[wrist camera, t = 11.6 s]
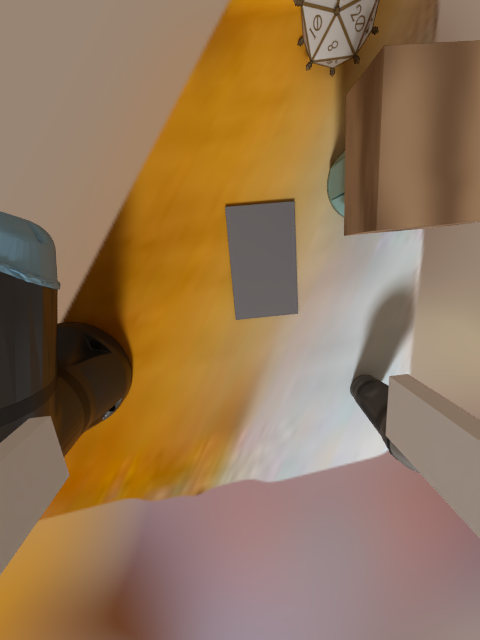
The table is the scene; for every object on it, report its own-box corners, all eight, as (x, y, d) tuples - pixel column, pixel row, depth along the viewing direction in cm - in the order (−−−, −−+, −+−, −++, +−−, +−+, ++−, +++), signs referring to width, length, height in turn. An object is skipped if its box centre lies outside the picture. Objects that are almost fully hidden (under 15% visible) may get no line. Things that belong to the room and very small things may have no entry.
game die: (326, 65, 33) (415, 16, 26) (296, 110, 31) (383, 71, 24) (298, -32, 27) (403, -132, 20) (259, 17, 25) (359, -72, 18)
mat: (235, 319, 36) (236, 319, 36) (225, 207, 33) (225, 206, 32) (297, 312, 37) (297, 313, 36) (293, 201, 33) (294, 201, 33)
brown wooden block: (344, 235, 28) (376, 230, 22) (346, 95, 25) (384, 45, 19) (439, 227, 28) (496, 219, 22) (454, 88, 25) (524, 37, 19)
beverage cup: (344, 367, 40) (461, 473, 20) (388, 366, 40) (544, 468, 21) (339, 408, 41) (443, 542, 22) (382, 406, 42) (520, 535, 23)
